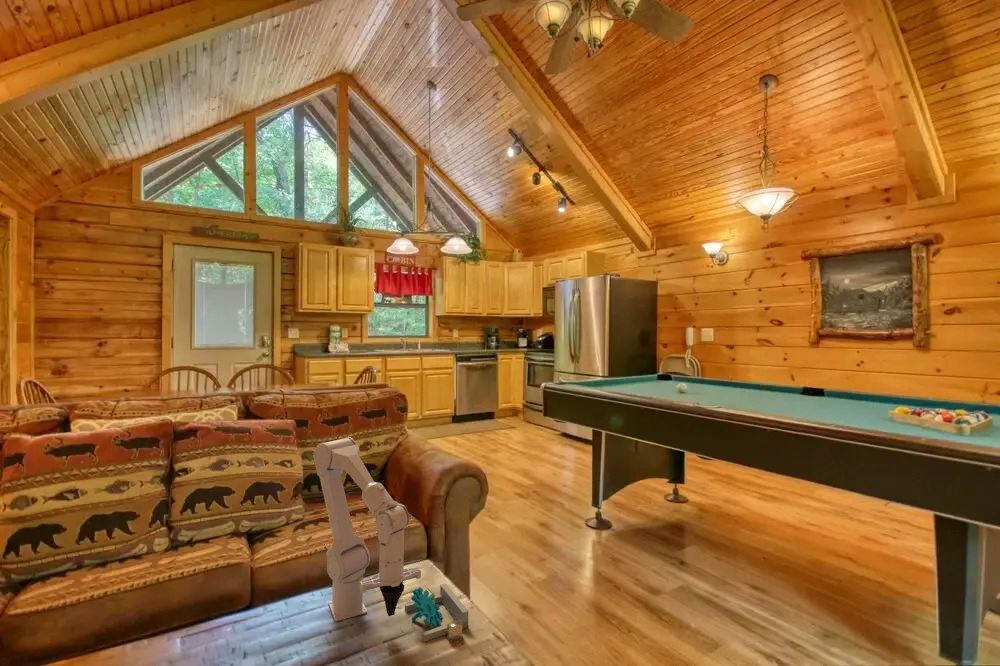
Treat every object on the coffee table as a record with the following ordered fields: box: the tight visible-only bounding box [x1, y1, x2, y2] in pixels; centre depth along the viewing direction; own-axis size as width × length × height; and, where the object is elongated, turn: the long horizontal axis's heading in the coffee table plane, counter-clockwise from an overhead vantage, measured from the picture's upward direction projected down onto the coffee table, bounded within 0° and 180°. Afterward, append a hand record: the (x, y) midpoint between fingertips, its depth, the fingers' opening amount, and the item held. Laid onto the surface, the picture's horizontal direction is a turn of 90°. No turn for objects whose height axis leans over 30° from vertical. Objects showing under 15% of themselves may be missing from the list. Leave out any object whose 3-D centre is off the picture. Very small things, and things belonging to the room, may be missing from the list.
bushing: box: [446, 619, 463, 643], centre depth 114 cm, size 4×4×3 cm
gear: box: [410, 586, 443, 628], centre depth 120 cm, size 11×6×10 cm
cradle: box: [404, 583, 469, 642], centre depth 121 cm, size 14×12×4 cm
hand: (390, 613), depth 115 cm, fingers closed
